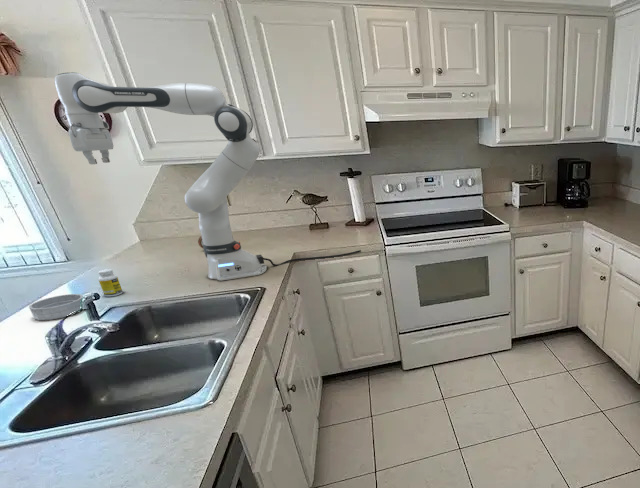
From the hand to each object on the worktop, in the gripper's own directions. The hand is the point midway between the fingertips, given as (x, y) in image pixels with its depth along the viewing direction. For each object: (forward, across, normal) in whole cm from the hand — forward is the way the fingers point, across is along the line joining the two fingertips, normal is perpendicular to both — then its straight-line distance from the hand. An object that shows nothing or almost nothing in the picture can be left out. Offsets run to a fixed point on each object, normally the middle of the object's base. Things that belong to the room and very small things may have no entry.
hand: (100, 163), depth 153 cm
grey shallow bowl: (+48, -26, +15) cm, 57 cm away
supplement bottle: (+48, -12, +6) cm, 50 cm away
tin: (+48, +51, -15) cm, 71 cm away
